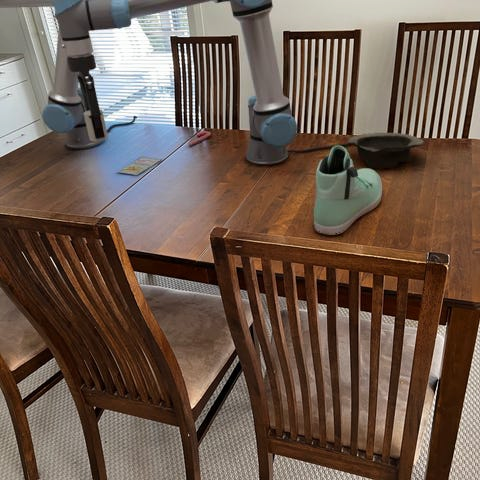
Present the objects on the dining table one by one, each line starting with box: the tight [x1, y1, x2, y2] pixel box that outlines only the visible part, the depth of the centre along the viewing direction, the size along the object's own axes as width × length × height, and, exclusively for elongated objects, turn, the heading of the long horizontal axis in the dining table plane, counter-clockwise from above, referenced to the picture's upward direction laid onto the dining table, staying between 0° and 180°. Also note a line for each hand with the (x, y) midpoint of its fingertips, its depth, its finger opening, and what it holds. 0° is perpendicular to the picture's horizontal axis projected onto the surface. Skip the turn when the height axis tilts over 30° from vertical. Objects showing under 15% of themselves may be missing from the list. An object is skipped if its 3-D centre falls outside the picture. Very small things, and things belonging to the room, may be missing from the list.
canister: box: [84, 109, 109, 141], centre depth 145 cm, size 6×6×8 cm
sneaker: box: [313, 146, 383, 236], centre depth 133 cm, size 14×35×20 cm, turn 152°
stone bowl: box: [347, 132, 426, 170], centre depth 165 cm, size 25×25×9 cm
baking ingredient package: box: [117, 157, 161, 176], centre depth 177 cm, size 9×1×15 cm
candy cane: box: [188, 130, 212, 147], centre depth 198 cm, size 6×15×2 cm, turn 145°
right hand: (98, 134), depth 147 cm, fingers closed on canister, 6 cm apart
